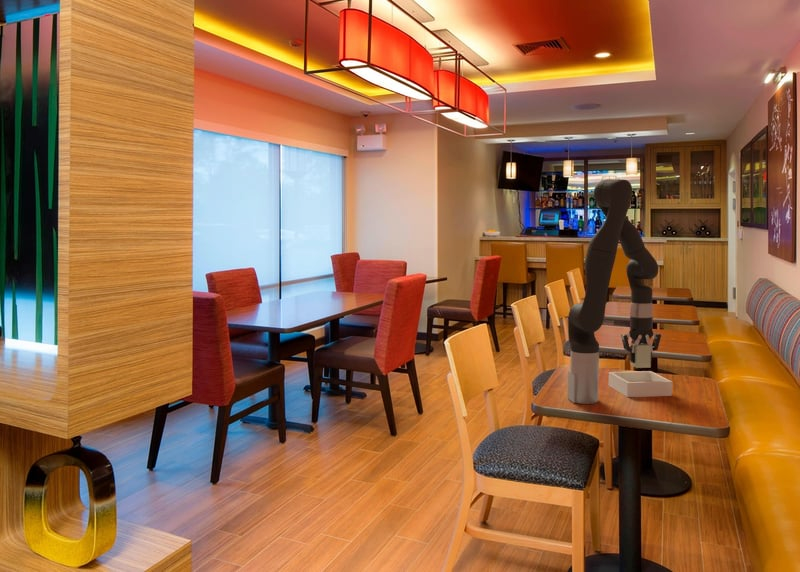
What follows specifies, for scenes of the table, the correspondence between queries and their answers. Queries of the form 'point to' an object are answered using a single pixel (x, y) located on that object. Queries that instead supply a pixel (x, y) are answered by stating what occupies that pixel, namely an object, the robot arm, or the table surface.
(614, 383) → the serving bin
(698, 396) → the table surface
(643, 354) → the cream block
